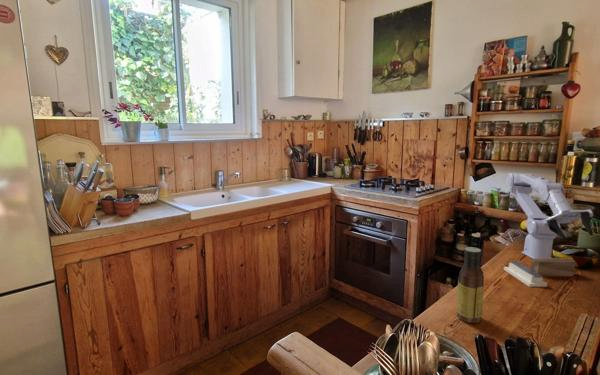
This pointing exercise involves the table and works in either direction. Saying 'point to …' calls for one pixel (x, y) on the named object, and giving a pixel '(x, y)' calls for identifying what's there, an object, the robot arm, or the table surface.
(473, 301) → the sauce bottle
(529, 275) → the ridge stand
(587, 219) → the robot arm
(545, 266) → the walnut batten
